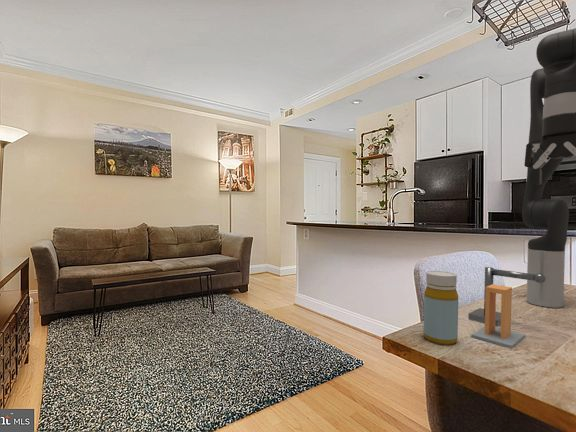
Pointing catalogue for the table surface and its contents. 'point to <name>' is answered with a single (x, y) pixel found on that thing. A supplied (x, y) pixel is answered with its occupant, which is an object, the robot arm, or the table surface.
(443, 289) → the bottle
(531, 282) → the robot arm
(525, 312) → the table surface
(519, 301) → the table surface
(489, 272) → the stand
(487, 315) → the link
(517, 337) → the mat
